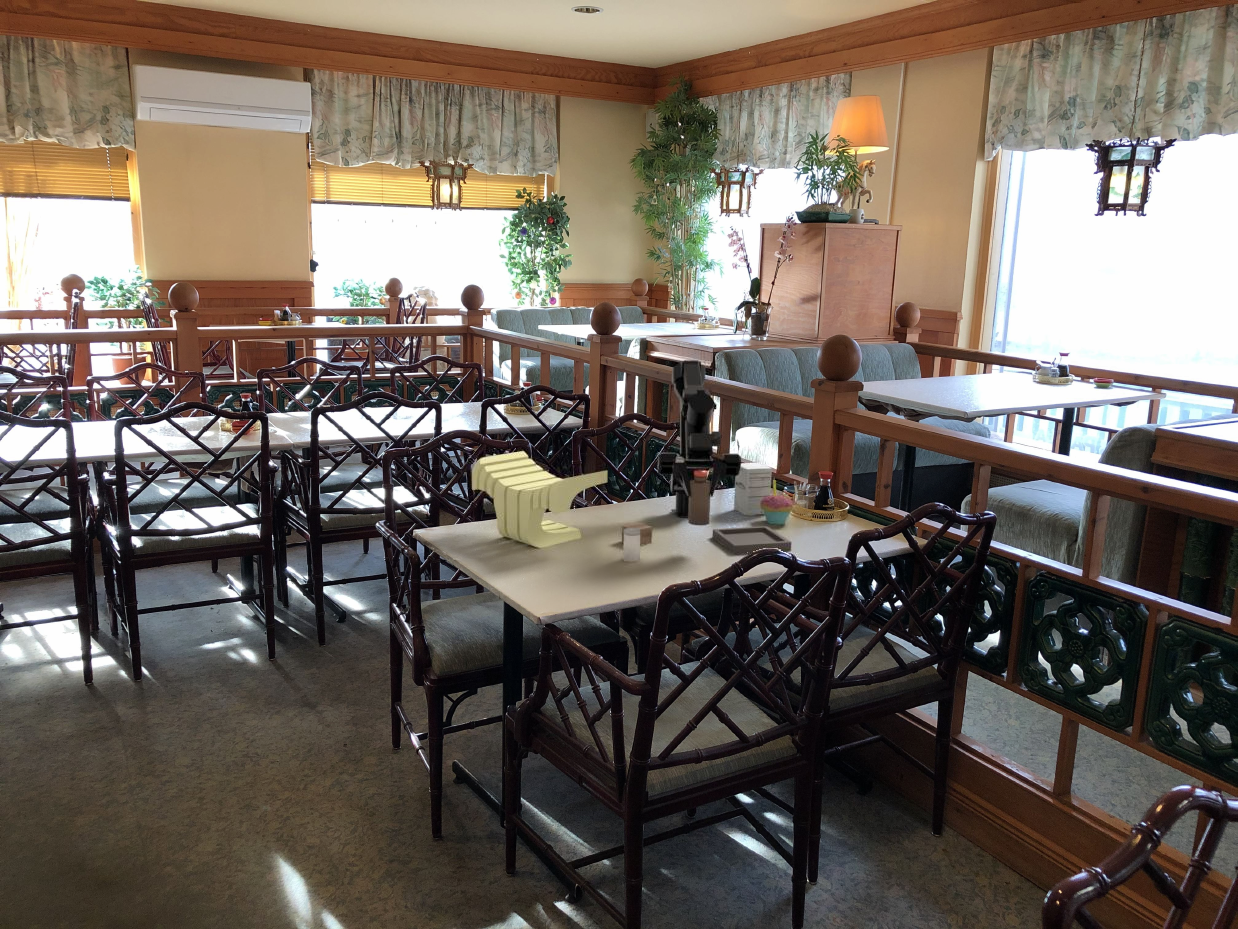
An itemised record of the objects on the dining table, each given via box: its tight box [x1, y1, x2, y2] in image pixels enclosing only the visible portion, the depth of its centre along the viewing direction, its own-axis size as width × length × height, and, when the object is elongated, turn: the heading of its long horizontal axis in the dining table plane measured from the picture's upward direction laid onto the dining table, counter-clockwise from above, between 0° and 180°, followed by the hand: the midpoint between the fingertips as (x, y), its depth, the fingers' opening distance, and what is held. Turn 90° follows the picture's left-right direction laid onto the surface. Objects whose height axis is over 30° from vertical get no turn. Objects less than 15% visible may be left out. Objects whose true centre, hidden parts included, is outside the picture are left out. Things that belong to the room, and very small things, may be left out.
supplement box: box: [733, 462, 773, 516], centre depth 256 cm, size 7×7×13 cm
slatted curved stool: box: [471, 450, 608, 549], centre depth 228 cm, size 30×16×18 cm, turn 45°
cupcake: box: [760, 477, 794, 525], centre depth 247 cm, size 9×8×12 cm
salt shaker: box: [622, 528, 641, 563], centre depth 214 cm, size 4×4×7 cm
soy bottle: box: [687, 469, 711, 527], centre depth 219 cm, size 5×5×12 cm
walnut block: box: [621, 521, 653, 546], centre depth 228 cm, size 5×5×4 cm
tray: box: [712, 525, 792, 555], centre depth 228 cm, size 14×14×2 cm
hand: (700, 495), depth 217 cm, fingers closed on soy bottle, 5 cm apart
